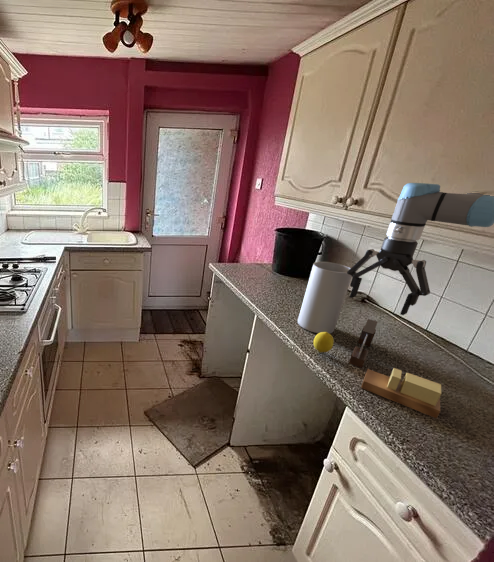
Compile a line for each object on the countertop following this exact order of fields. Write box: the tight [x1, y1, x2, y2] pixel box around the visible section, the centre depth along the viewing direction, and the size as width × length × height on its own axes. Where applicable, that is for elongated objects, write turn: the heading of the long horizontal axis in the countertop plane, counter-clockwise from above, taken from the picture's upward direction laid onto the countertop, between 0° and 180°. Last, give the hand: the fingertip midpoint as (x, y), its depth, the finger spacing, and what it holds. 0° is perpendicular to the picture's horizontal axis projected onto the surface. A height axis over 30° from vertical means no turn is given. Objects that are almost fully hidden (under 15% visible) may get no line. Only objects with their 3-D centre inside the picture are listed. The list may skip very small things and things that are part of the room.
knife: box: [358, 318, 379, 359], centre depth 104 cm, size 3×21×6 cm, turn 137°
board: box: [360, 368, 441, 419], centre depth 87 cm, size 16×8×2 cm, turn 46°
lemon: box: [312, 332, 335, 354], centre depth 105 cm, size 6×6×8 cm
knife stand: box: [348, 325, 377, 369], centre depth 105 cm, size 4×20×6 cm, turn 136°
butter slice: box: [387, 367, 403, 390], centre depth 87 cm, size 2×5×4 cm, turn 136°
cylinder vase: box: [297, 261, 352, 335], centre depth 118 cm, size 12×12×25 cm
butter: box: [400, 372, 442, 406], centre depth 84 cm, size 7×5×4 cm
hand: (376, 304), depth 98 cm, fingers open, 13 cm apart
